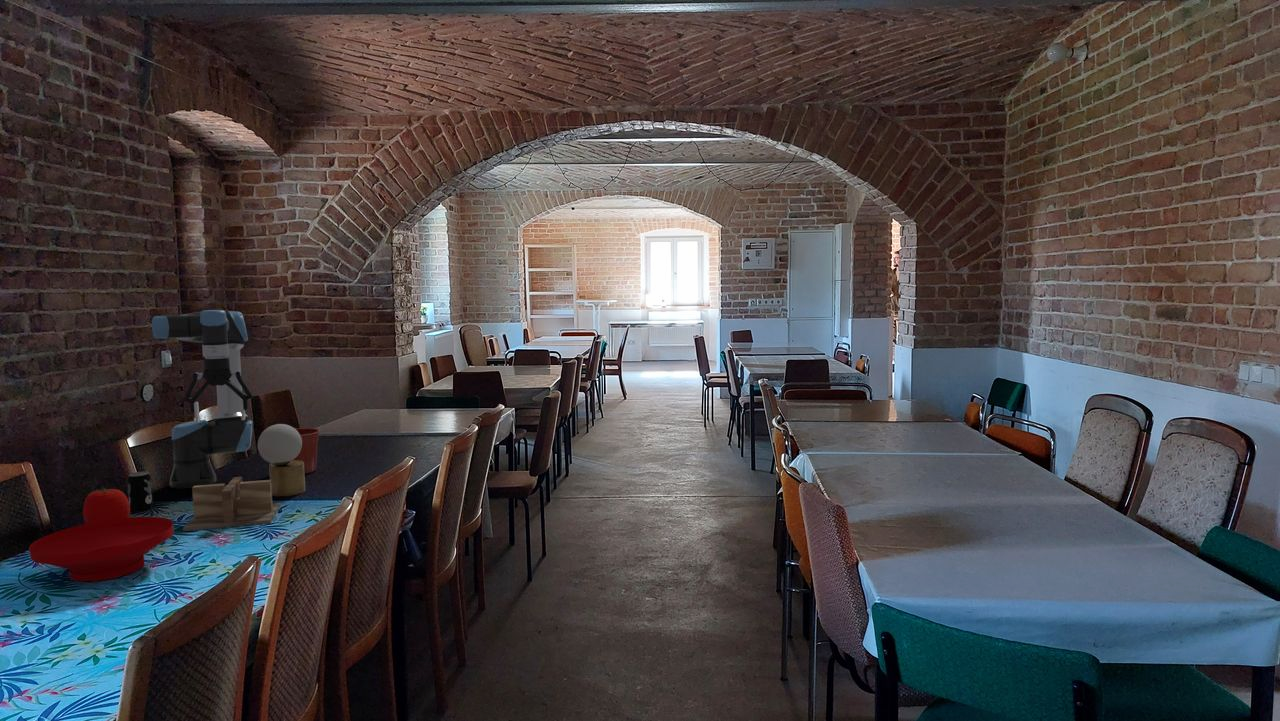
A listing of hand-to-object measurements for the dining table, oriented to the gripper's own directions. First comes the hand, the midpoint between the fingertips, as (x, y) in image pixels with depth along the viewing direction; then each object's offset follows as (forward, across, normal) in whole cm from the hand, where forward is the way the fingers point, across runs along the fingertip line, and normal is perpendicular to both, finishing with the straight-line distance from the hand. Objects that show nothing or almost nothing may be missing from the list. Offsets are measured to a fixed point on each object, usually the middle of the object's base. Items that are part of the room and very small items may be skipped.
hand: (220, 420), depth 255 cm
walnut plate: (+27, +5, -17) cm, 32 cm away
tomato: (+28, -28, -21) cm, 45 cm away
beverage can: (+29, -26, +6) cm, 40 cm away
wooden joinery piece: (+28, +5, -17) cm, 33 cm away
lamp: (+29, +17, +9) cm, 35 cm away
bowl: (+27, -17, -58) cm, 66 cm away
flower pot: (+31, +18, +44) cm, 56 cm away
